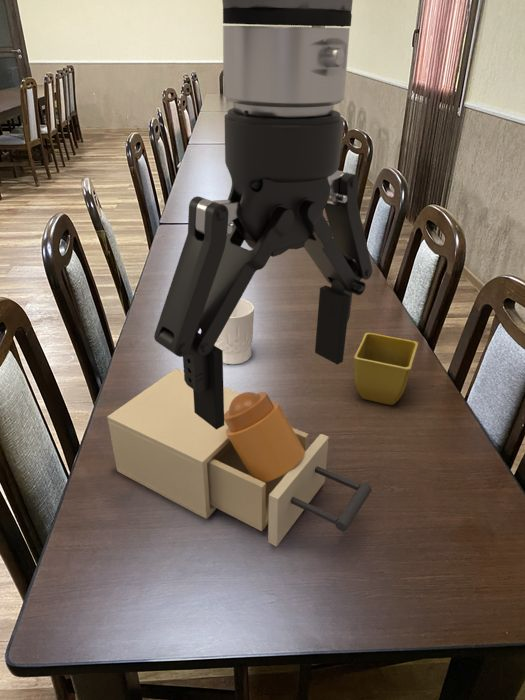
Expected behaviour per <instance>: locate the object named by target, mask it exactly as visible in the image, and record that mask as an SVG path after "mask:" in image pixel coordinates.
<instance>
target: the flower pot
mask: <svg viewBox="0 0 525 700" xmlns="http://www.w3.org/2000/svg"><path fill="white" fill-rule="evenodd" d="M418 346H419V342H418V341H416V340H412V339H406V338H400V337H395V336H389V335H383V334H379V333H374V332H365V333H364V335H363V338H362V340H361V342H360V345H359V346H358V349H357V350H356V352H355V354H354V356H353V372H354V373H353V374H354V376H353V377H354V378H353V379H354V384H355V389H356V390H357V393H358V394H359V396H360V397H361V398H362V399H363V400H367V401H371V402H375V403H379V404H383V405H388V406H393V405H395V404H396V403H397V402H398V401H399V400H400V399H401V398H402V396H403V394H404V393H405V390H406V386H407V383H408V379H409V376H410V374H411V370H412V366H413V363H414V360H415V357H416V354H417V350H418Z"/></svg>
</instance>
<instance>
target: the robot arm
mask: <svg viewBox="0 0 525 700" xmlns="http://www.w3.org/2000/svg"><path fill="white" fill-rule="evenodd" d="M353 2H354V1H353V0H222V24H225V25H222V66H223V67H222V73H223V74H222V75H223V76H222V78H223V80H222V82H223V83H222V85H223V87H222V88H223V91H222V93H223V97H224V98H225V99H226V100H227V101H229V102H230V103H232V106H233V107H232V108H229V109H228V110H227V113H226V114H224V162H225V166H226V169H227V170H228V172H229V176H230V179H231V186H230V191H229V195H228V196H227V197H228V198H227V199H219V200H211V199H207V198H205V197H202V196H198V195H197V196H194V197H193V198H192V199H190V201H189V204H188V216H187V217H188V218H187V235H186V237H185V240H184V243H183V247H182V249H181V252H180V256H179V259H178V262H177V265H176V267H175V271H174V274H173V277H172V279H171V283H170V286H169V288H168V292H167V295H166V298H165V301H164V304H163V306H162V310H161V312H160V316H159V319H158V322H157V326H156V329H155V331H154V335H153V337H154V341H155V342H156V343H158V344H159V345H161V346H162V347H163V348H165V349H167V350H168V351H169V352H171V353H172V354H174V355H175V356H177V357H179V358H182V364H183V365H182V366H183V371H184V380H185V382H186V384H187V385H188V386H189V387H191V388H192V389H193V394H194V411H195V413H196V414H197V415H198V416H199V417H201V418H202V419H203V420H205V421H206V422H207V423H209V424H210V425H211V426H212V427H214V428H215V429H216V430H217V429H219V428H220V427H222V426H224V389H223V387H224V363H223V351H222V350H221V349H219V348H218V347H216V346H214V345H215V343H216V341H217V339H218V337H219V336H220V334H221V332H222V330H223V329H224V327H225V325H226V323H227V321H228V320H229V318H230V316H231V314H232V313H233V311H234V309H235V307H236V305H237V304H238V302H239V300H240V299H242V296H243V295H244V293H245V291H246V289H247V287H248V286H249V284H250V282H251V280H252V279H253V277H254V275H255V273H256V272H257V271H260V270H262V269H264V268H265V267H266V265H267V263H268V261H269V260H270V257H272V258H274V257H278V256H280V255H282V254H284V253H286V252H287V251H289V250H298V249H299V250H300V249H302V248H303V249H304V250H305V252H306V253H307V254H308V255H309V257H310V258H311V260H312V262H313V263H314V264H315V265H316V268H317V269H318V270H319V272H320V273H321V274H322V276H323V277H324V279H325V281H326V282H327V283H328V284H330V285H331V286H329V285H323V286H320V287H319V297H318V306H317V307H318V309H317V319H316V333H315V334H316V335H315V345H314V353H315V354H316V355H318V356H320V357H322V358H324V359H326V360H327V361H330V362H332V363H333V364H335V365H340V364H342V363H343V362H344V354H345V348H346V347H345V345H346V336H347V328H348V322H349V320H350V317H351V307H352V300H353V294H354V295H356V296H362V294H363V293H364V292H365V290H366V286H367V284H366V282H364V281H365V280H366V281H367V280H369V279H370V278H371V276H372V275H373V265H372V261H371V256H370V253H369V252H370V251H369V248H368V243H367V239H366V234H365V231H364V226H363V221H362V217H361V213H360V208H359V204H358V203H359V202H358V195H359V177H358V175H357V174H354V173H350V172H345V171H342V170H338V169H339V167H340V163H341V150H342V148H341V147H342V139H343V138H342V137H343V128H344V127H343V126H344V117H342V116H341V113H340V112H339V111H337V110H335V109H334V107H335V105H338V104H340V103H342V102H343V100H344V99H345V95H346V94H345V93H346V81H347V70H348V69H347V67H348V54H349V44H350V43H349V42H350V30H351V29H350V27H351V26H352V17H353V14H352V10H353ZM324 211H325V215H326V218H325V216H324ZM326 219H327V220H326ZM244 242H245V243H246V244H247V245H248V247H249V248H250V249H247V248H245V247H242V245H243V243H244ZM362 279H363V280H364V281H362ZM199 331H200V332H199Z"/></svg>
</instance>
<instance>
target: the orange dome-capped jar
mask: <svg viewBox="0 0 525 700" xmlns="http://www.w3.org/2000/svg"><path fill="white" fill-rule="evenodd" d="M224 421H225V423H226V424H227V426H228V429H227V430H226V434H227V436H228V438H229V440H230V441H231V443H232V445H233V446H234V448H235V450H236V451H237V453H238V455H239V456H240V458H241V460H242V462H243V463H244V465H245V467H246V468H247V470H248V472H249V473H250V475H251V477H254V478H256V479H258V480H260V481H262V482H268V481H271V480H274V479H276V478H278V477H280V476H282V475H284V474H285V473H287V472H288V471H290V470H291V469H292V468H294V467H295V466H296V465H297V464H298V463H299V462H300V461H301V460H302V458H303V457H304V454H305V450H304V448H303V446H302V445H301V443H300V441H299V439H298V438H297V436H296V434H295V432H294V431H293V429H292V428H293V427H292V426H291V424H290V422H289V419H288V418H287V417H286V415H285V413H284V411H283V409H282V408H281V406H280V404H279V403H278V402H277V401H272V400H271V399H270V397H269V395H268V393H267V392H265V391H262V392H258V393H257V392H256V393H255V392H252V391H251V392H250V391H246V392H242V393H241V392H240V394H239V395H238V396H236V397H235V398H234V399H233V400H232V402H231V404H230V406H229V410H228V411H227V412H226V413H225V414H224Z"/></svg>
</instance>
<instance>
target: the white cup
mask: <svg viewBox="0 0 525 700" xmlns="http://www.w3.org/2000/svg"><path fill="white" fill-rule="evenodd" d="M254 316H255V306H254V304H253V303H252V302H251V301H250V300H247V299H245V298H240V300H239V302H238V304H237V305H236V307H235V309H234V311H233V313H232V314H231V316H230V318H229V320H228V321H227V323H226V325H225V327H224V329H223V330H222V332H221V334H220V336H219V337H218V339H217V341H216V343H215V345H214V346H216V347H218V348H219V349H221V350H222V351H223V364H226V365H240V364H243V363H245V362H247V361H248V360H249V359H250V358H251V356H252V344H253V338H254V336H253V335H254V318H255V317H254Z"/></svg>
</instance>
